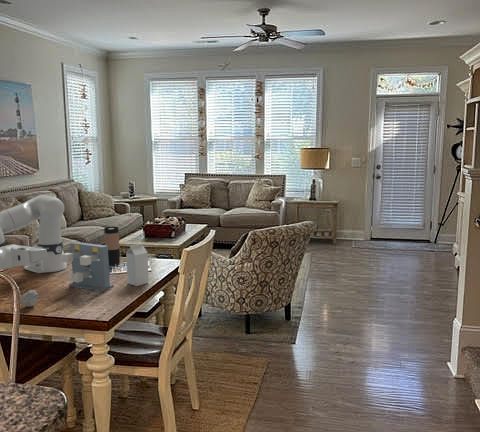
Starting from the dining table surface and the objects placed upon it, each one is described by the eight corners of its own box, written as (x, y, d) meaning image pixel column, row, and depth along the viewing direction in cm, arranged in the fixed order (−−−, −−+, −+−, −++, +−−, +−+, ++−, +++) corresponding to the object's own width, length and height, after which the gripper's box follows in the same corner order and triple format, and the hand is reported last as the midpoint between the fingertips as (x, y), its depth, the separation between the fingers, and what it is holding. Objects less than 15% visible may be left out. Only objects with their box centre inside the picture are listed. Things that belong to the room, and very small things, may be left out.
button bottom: (72, 281, 212) (71, 273, 212) (88, 275, 221) (88, 268, 221) (78, 282, 211) (77, 274, 210) (94, 276, 220) (94, 269, 219)
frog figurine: (32, 309, 191) (31, 293, 190) (18, 308, 193) (16, 291, 192) (42, 304, 197) (41, 288, 195) (28, 303, 199) (27, 287, 197)
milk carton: (148, 283, 225) (147, 244, 222) (136, 286, 220) (134, 246, 216) (139, 280, 229) (138, 242, 226) (127, 283, 224) (125, 244, 221)
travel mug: (103, 263, 260) (101, 227, 256) (116, 261, 265) (114, 226, 261) (109, 266, 254) (107, 229, 251) (122, 263, 259) (121, 228, 256)
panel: (69, 285, 222) (66, 244, 218) (81, 281, 229) (79, 240, 225) (101, 291, 213) (99, 248, 209) (113, 286, 220) (111, 244, 216)
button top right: (80, 264, 208) (79, 256, 208) (96, 259, 217) (96, 251, 217) (86, 265, 207) (85, 257, 206) (102, 260, 216) (102, 252, 215)
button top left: (62, 261, 213) (61, 254, 213) (78, 256, 222) (78, 249, 222) (68, 262, 212) (67, 254, 211) (84, 257, 221) (84, 250, 220)
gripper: (-5, 260, 193) (24, 253, 205) (29, 266, 184) (57, 258, 196) (-7, 245, 192) (22, 238, 204) (28, 250, 183) (56, 243, 195)
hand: (40, 248), depth 200 cm, fingers closed
